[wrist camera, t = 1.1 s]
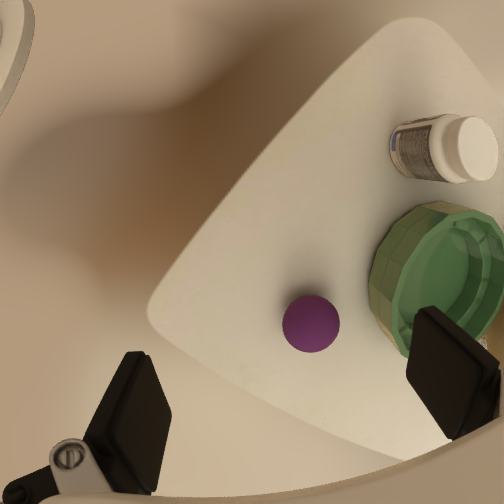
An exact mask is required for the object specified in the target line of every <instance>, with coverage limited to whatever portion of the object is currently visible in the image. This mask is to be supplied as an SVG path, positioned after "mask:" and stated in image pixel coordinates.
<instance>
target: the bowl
mask: <svg viewBox="0 0 504 504" xmlns="http://www.w3.org/2000/svg"><path fill="white" fill-rule="evenodd" d="M369 298H370V309H371V311H372V313H373V315H374V317H375V319H376V321H377V323H378V324H379V326H380V328H381V330H382V331H383V332H384V333H385V335H386V336H387V337H388V338H389V340H390V341H391V342H392V343H393V345H394V346H395V347H396V349H397V350H398V351H399V352H400V354H401V355H403V356H404V357H406V358H408V357H409V351H410V344H411V337H412V330H413V322H414V316H415V314H416V313H418V310H419V309H420V308H424V307H427V306H431V305H434V306H436V307H437V308H438V309H439V310H441V311H442V312H443V313H444V314H445V315H447V316H448V317H449V318H450V319H451V320H453V321H454V322H455V323H456V324H457V325H459V326H460V327H461V328H462V329H463V330H464V331H466V332H467V333H468V334H469V335H470V336H471V337H473V338H474V339H475V340H476V341H478V340H479V339H480V338H481V336H483V334H484V333H485V331H486V330H487V328H488V327H489V325H490V324H491V323H492V321H493V320H494V318H495V316H496V315H497V313H498V311H499V308H500V306H501V303H502V301H503V298H504V233H503V232H502V230H501V229H500V227H499V226H498V224H497V223H496V221H495V220H494V219H493V218H492V217H491V216H488V215H486V214H484V213H481V212H479V211H476V210H474V209H470V208H467V207H463V206H459V205H455V204H451V203H447V202H443V201H440V202H435V203H429V204H424V205H419V206H417V207H416V208H415V209H413V210H412V211H411V212H409V213H408V214H407V215H405V216H404V217H403V218H401V219H400V220H398V221H397V222H396V223H395V224H394V225H393V227H392V229H391V230H390V232H389V233H388V235H387V236H386V238H385V239H384V241H383V242H382V244H381V245H380V247H379V248H378V250H377V253H376V256H375V260H374V263H373V267H372V270H371V274H370V277H369Z"/></svg>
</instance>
